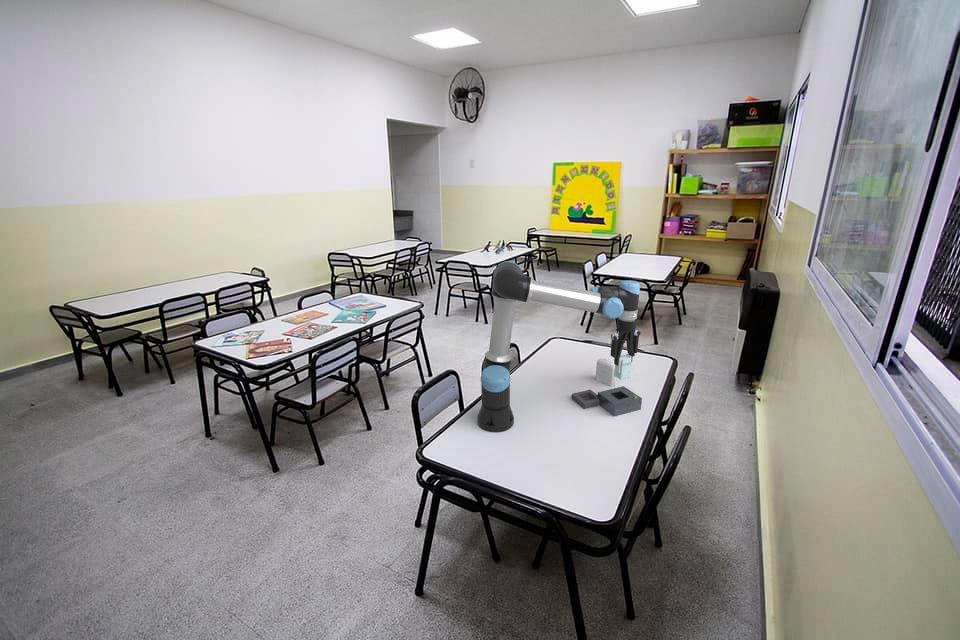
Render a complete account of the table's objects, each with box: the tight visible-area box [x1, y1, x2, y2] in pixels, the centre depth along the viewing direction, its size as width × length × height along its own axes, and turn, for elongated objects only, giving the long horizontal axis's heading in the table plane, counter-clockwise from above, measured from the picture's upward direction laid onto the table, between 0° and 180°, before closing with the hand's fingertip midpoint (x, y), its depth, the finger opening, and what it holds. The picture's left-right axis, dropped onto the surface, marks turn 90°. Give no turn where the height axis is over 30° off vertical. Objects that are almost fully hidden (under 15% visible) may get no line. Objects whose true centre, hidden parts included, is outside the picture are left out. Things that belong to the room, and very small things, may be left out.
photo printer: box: [595, 357, 617, 387], centre depth 211 cm, size 10×4×12 cm, turn 39°
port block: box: [597, 385, 643, 418], centre depth 190 cm, size 14×12×6 cm
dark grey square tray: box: [571, 389, 601, 410], centre depth 195 cm, size 10×10×3 cm
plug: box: [614, 354, 632, 381], centre depth 185 cm, size 5×5×9 cm
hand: (622, 370), depth 185 cm, fingers closed on plug, 5 cm apart
